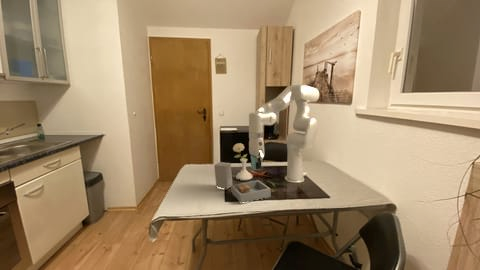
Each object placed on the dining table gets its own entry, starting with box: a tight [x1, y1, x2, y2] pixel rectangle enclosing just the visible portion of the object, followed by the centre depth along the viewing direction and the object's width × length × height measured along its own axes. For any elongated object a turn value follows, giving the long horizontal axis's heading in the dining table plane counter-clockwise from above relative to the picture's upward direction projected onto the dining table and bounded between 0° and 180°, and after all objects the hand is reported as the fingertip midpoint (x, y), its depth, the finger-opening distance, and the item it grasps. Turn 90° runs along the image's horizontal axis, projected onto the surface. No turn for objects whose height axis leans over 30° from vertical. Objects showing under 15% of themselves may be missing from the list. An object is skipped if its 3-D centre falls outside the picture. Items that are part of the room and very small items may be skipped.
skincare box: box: [213, 161, 234, 189], centre depth 128 cm, size 8×7×16 cm
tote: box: [230, 179, 272, 203], centre depth 119 cm, size 18×14×5 cm
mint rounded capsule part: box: [250, 156, 261, 171], centre depth 117 cm, size 5×5×7 cm
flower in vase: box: [232, 142, 253, 181], centre depth 142 cm, size 13×11×25 cm
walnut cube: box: [238, 184, 250, 194], centre depth 117 cm, size 5×5×5 cm
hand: (256, 167), depth 118 cm, fingers closed on mint rounded capsule part, 4 cm apart
